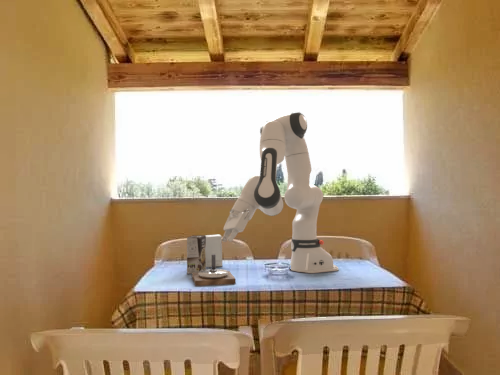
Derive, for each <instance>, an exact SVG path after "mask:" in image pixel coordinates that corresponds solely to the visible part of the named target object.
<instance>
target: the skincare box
mask: <svg viewBox="0 0 500 375" xmlns="http://www.w3.org/2000/svg"><path fill="white" fill-rule="evenodd" d="M203 236H206V268H212V254H216V267H223V241H222V238H223V236H222V235H221V234H218V233H217V234H207V235H206V234H205V235H203Z"/></svg>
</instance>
